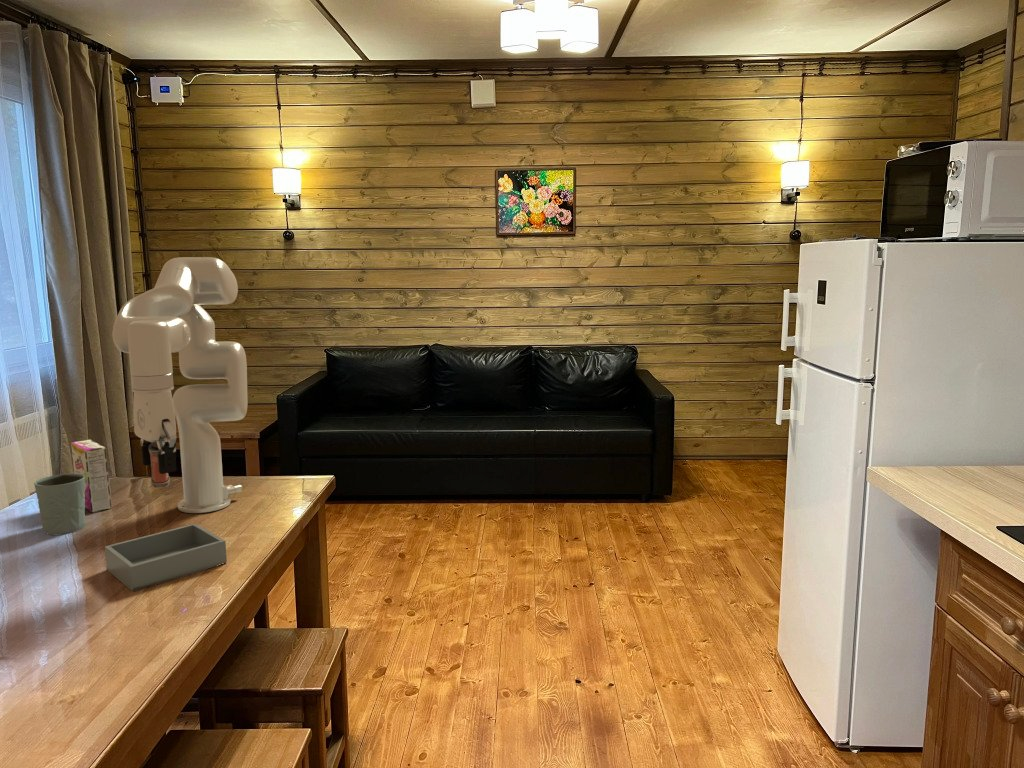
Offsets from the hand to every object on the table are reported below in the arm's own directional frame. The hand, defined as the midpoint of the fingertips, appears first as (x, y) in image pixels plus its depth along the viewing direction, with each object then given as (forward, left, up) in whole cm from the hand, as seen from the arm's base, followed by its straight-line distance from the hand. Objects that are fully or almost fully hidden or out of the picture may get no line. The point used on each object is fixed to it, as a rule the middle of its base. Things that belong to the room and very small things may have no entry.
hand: (159, 467), depth 151 cm
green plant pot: (+8, -40, -21) cm, 46 cm away
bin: (0, 0, -21) cm, 21 cm away
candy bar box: (-2, -52, -21) cm, 56 cm away
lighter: (0, 0, -3) cm, 3 cm away
